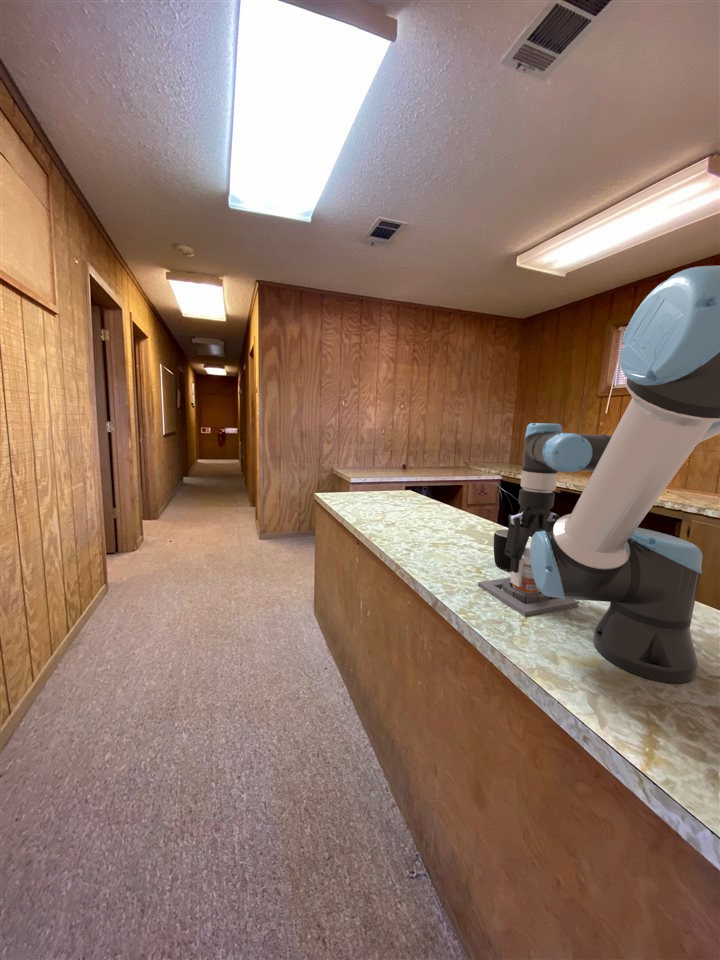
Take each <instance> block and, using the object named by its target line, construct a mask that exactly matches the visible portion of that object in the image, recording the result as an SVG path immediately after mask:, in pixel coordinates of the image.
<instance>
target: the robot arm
mask: <svg viewBox="0 0 720 960" xmlns="http://www.w3.org/2000/svg"><path fill="white" fill-rule="evenodd" d="M621 344H623V348H622V349H621V350H620V353H619V355H620V356H619V362H620V366H621V367H620V368H621V371H622V372H623V375H624V376H625V377H626V380H625V387H626V390H627V392H628V393H629V394H630V396H631V397H632V398H631V400H630V401H629V403H628V405H627V407H626V408H625V411H624V413H623V415H622V416H621V418H620V421H619V422H618V425H616V428H615V430H614V432H613V434H592V433H588V434H587V433H573V432H571V433H570V432H563V426H562V425H561V424H559V423H545V422H543V423H541V422H536V423H535V422H531V423H529V424H528V425H527V426H526V431H525V436H524V447H523V454H522V455H523V457H522V469H521V476H520V477H521V479H520V484H519V485H520V487H521V488H520V489H519V495H518V504H519V506H520V509H519V511H518V513H517V514H514V515H512V514H509V515H508V517H507V518H508V527H507V528H508V534H507V540H506V546H505V552H504V554H505V555H507V556H509V557H511V567H510V570H509V571H511V573H510V574H511V575H510V577H511V581H510V582H511V583H513V584H514V585H516V586H518V587H521V583H522V574H523V565H524V560H522V559H521V558H522V555H523V553H524V550H525V547H526V544H528V541H529V540H530V539H529V538H530V535H532V534H533V533H534V534H533V535H532V536H531V541H530V544H531V546H530V559H531V568H532V573H533V577H534V580H535V583H536V586H537V588H538V589H539V591H540V592H542V593H543V594H544V595H545V596H548V597H556V598H561V599H574V600H575V601H594V602H603V603H604V602H607V603H609V605H608V606H609V607H608V608H607V610H606V611H605V613H604V615H603V616H602V617H601V619H600V621H599V623H598V624H597V625H596V627H595V629H594V634H593V641H592V642H593V645H594V647H595V649H596V650H597V652H598V653H599V654H600V655H601V656H602V657H603V658H605V659H607V661H609V662H611V663H612V664H614V665H615V666H617V667H619V668H621V669H623V670H625V671H627V672H629V673H632V674H634V675H636V676H640V677H641V678H642V677H643V678H646V679H649V680H654V681H657V682H663V683H670V684H683V683H688V682H691V681H692V680H694V679H695V677H696V673H697V668H698V660H697V655H696V650H695V646H694V642H693V638H692V634H691V623H692V619H693V614H694V608H695V602H696V597H697V594H698V593H697V592H698V587H699V582H700V579H701V575H702V574H703V570H702V565H703V552H702V550H701V548H699V546H697V545H696V544H694V543H692V542H690V541H687V540H685V539H682V538H681V537H677V536H673V535H670V534H667V533H664V532H663V533H662V532H659V531H655V530H651V529H647V528H642V527H639V525H640V524H641V522H642V521H643V520H644V518H645V517H646V515H647V514H648V513H649V512H650V510H651V509H652V508H653V506H654V505H655V503H656V502H657V501H658V500H659V498H660V497H661V495H662V494H663V492H664V491H665V490H666V488H667V487H668V486H669V484H670V483H671V482H672V480H673V478H674V477H675V476H676V475H677V474H678V472H679V470H680V469H681V467H682V466H684V465H683V464H684V463H685V462H686V460H687V459H688V458H689V457H690V455H691V454H692V452H693V451H694V449H695V448H696V447H697V446H698V444H699V443H702V442H705V441H707V440H709V439H711V438H713V437H715V436H718V435H720V265H703V266H702V265H701V266H694V267H689V268H686V269H683V270H681V271H678V272H676V273H674V274H673V275H671V276H670V277H669V278H667V280H664V281H663V282H661V283H660V284H658V285H657V286H656V287H654V289H652V290H651V291H650V293H649V294H648V295H647V296H646V297H645V298H644V299H643V301H642V302H641V303H640V305H639V306H638V307H637V309H636V310H635V311H634V313H633V315H632V316H631V318H630V320H629V322H628V325H627V327H626V330H625V332H624V334H623V338H622V341H621ZM558 472H561V473H563V472H564V473H565V472H566V473H575V472H592V474H591V476H590V477H589V479H588V480H587V483H586V485H585V486H584V489H583V491H582V493H581V495H580V497H579V498H578V500H577V501H576V504H575V506H574V507H573V510H572V512H571V513H569V514H565V515H563V516H561V517H560V514H557V513H554V512H552V511H551V509H553V507H554V502H555V495H556V493H555V492H554V491H555V490H556V489H557V479H558ZM516 552H517V554H516Z"/></svg>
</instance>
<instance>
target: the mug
mask: <svg viewBox="0 0 720 960" xmlns="http://www.w3.org/2000/svg"><path fill="white" fill-rule="evenodd" d="M507 534H508V529H507V528H503V529H502V528H499V529H496V530H494V534H493V559H494V563H495V566H497V568H500V569H501V570H505V571H511V570H510V567H511V557H509V556H507V555H505V554H504V552H505V546H506V540H507ZM516 554H517V552H516Z"/></svg>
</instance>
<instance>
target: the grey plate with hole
mask: <svg viewBox="0 0 720 960" xmlns="http://www.w3.org/2000/svg"><path fill="white" fill-rule="evenodd" d="M510 581H511V576H510V577H503V578H499V579H498V578H497V579H491V580H490V579H489V580H483V581H478V582H477V586H478V587H479V588H480V589H481V590H483V591H485V592H487V594H490V595H491V596H492V597H495V599H497V600H499V601H500V602H502V603H503V604H505V605H506V606H508V607H510V608H511V609H512V610H514V611H516V612H517V613H519V614H521V615H522V616H524V617H527V616H533V615H537V614H544V613H548V612H554V611H559V610H564V609H570V608H574V607H578V606H579V601H578V600H574V599H561V598H556V597H548V596H545V595H544V594H543V593H542V592H540V591H539V593H538V594H529V593H524V592H520V591H517V590H515V589H514V588H513V583H511V582H510Z"/></svg>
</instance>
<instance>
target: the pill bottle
mask: <svg viewBox="0 0 720 960" xmlns="http://www.w3.org/2000/svg"><path fill="white" fill-rule="evenodd" d="M530 546H531V543H527V544H526V547H525V550H524V553H523V555H522V558H521V559H522V560H524V565H523V574H522V583H521V587H518V586H516V585H514V584H513V588H514V589H515V590H517V591H520V592H524V593H529V594H538V593H539V589H538V588H537V586H536V583H535V580H534V577H533V573H532V568H531V559H530Z"/></svg>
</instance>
